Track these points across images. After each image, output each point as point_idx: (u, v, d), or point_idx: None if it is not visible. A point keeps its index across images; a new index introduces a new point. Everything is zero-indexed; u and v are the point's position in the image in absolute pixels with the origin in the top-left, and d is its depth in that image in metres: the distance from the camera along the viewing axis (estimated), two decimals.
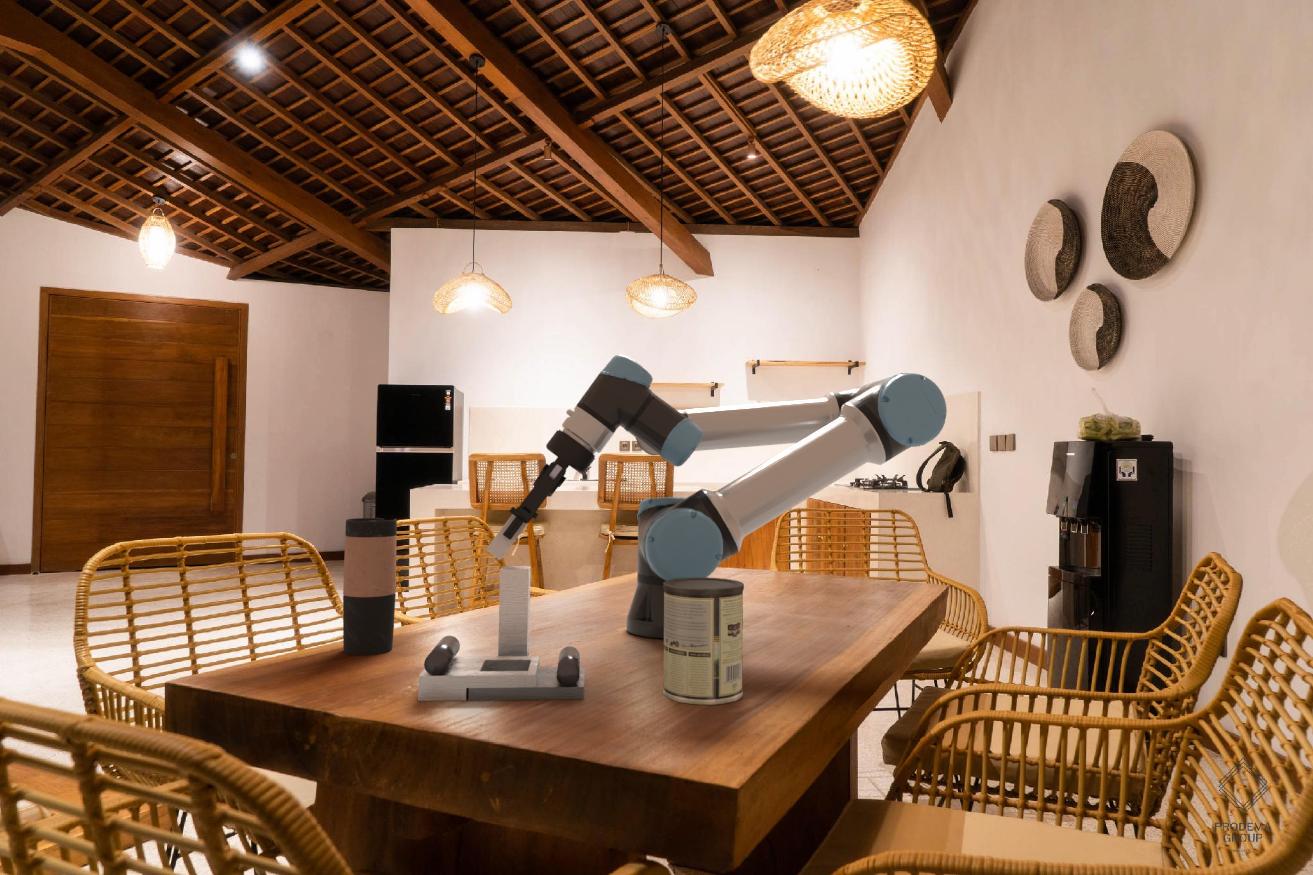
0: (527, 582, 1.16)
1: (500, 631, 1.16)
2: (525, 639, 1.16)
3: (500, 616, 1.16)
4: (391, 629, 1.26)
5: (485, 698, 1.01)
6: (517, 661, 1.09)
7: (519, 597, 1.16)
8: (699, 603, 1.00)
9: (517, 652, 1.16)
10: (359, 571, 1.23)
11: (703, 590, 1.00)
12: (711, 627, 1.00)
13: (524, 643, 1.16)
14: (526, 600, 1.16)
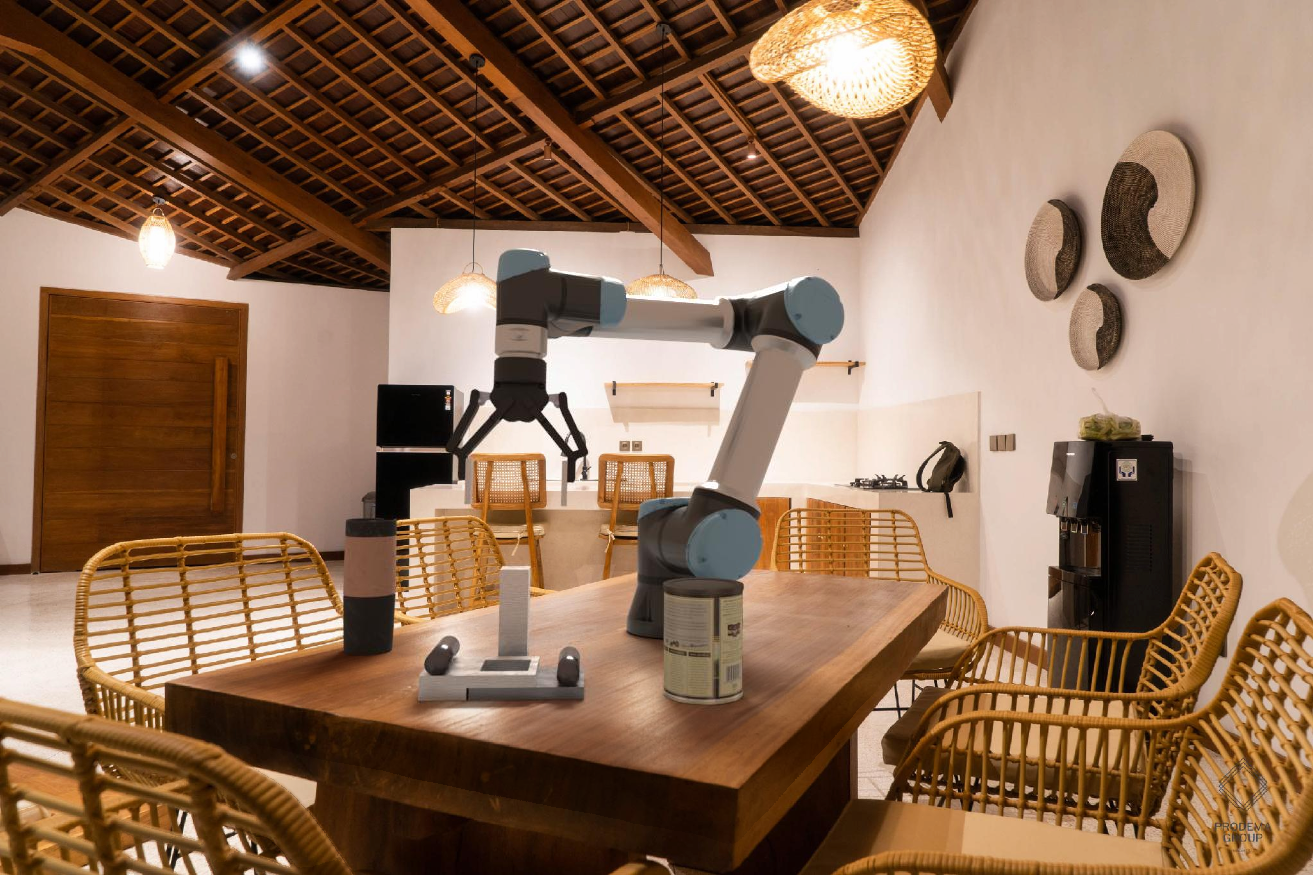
0: (527, 582, 1.16)
1: (500, 631, 1.16)
2: (525, 639, 1.16)
3: (500, 616, 1.16)
4: (391, 629, 1.26)
5: (485, 698, 1.01)
6: (517, 661, 1.09)
7: (519, 597, 1.16)
8: (699, 603, 1.00)
9: (517, 652, 1.16)
10: (359, 571, 1.23)
11: (703, 590, 1.00)
12: (711, 627, 1.00)
13: (524, 643, 1.16)
14: (526, 600, 1.16)
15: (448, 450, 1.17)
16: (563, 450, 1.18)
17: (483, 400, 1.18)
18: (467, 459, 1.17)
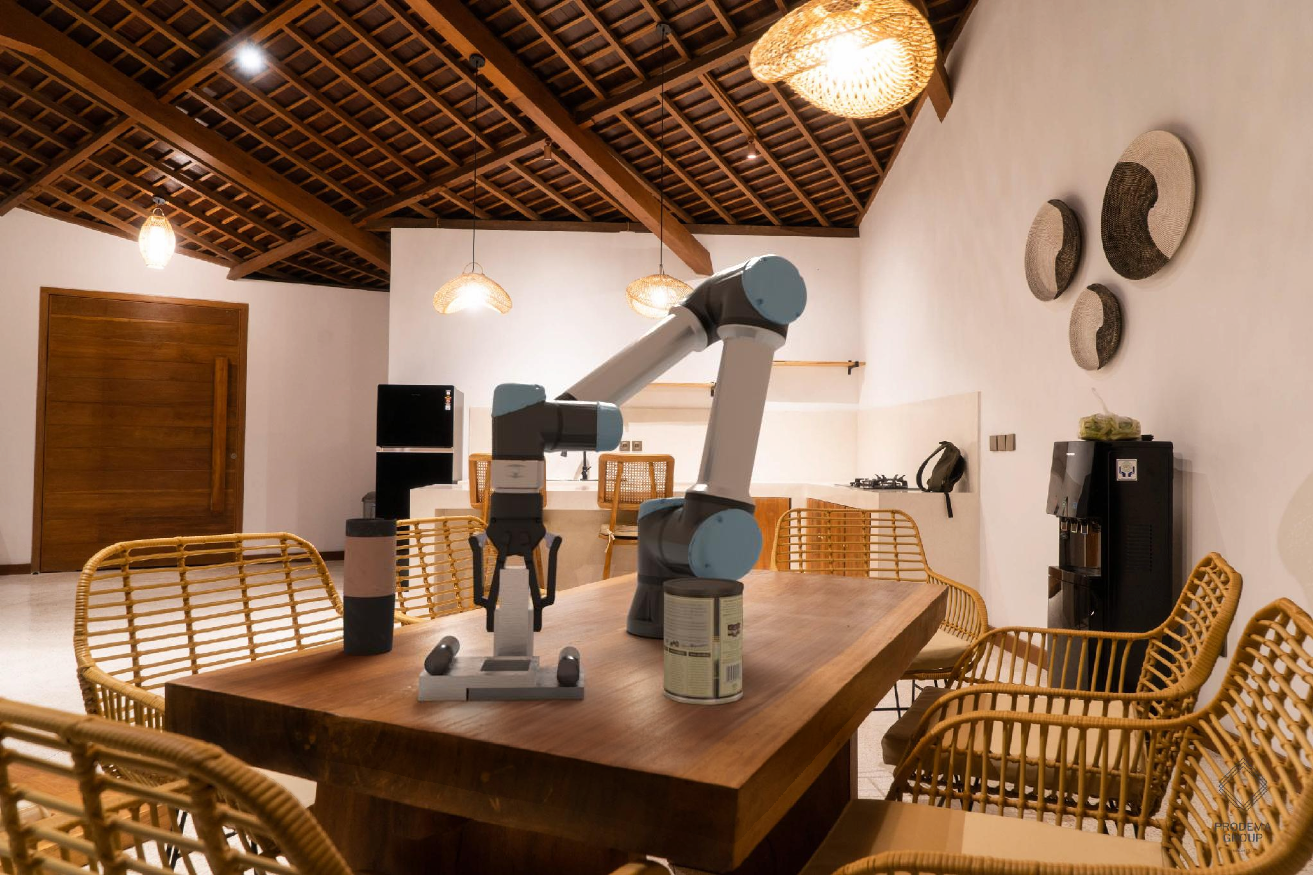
0: (527, 582, 1.16)
1: (500, 631, 1.16)
2: (525, 639, 1.16)
3: (500, 616, 1.16)
4: (391, 629, 1.26)
5: (485, 698, 1.01)
6: (517, 661, 1.09)
7: (519, 597, 1.16)
8: (699, 603, 1.00)
9: (517, 652, 1.16)
10: (359, 571, 1.23)
11: (703, 590, 1.00)
12: (711, 627, 1.00)
13: (524, 643, 1.16)
14: (526, 600, 1.16)
15: (477, 603, 1.16)
16: (533, 596, 1.17)
17: (483, 541, 1.17)
18: (495, 611, 1.16)
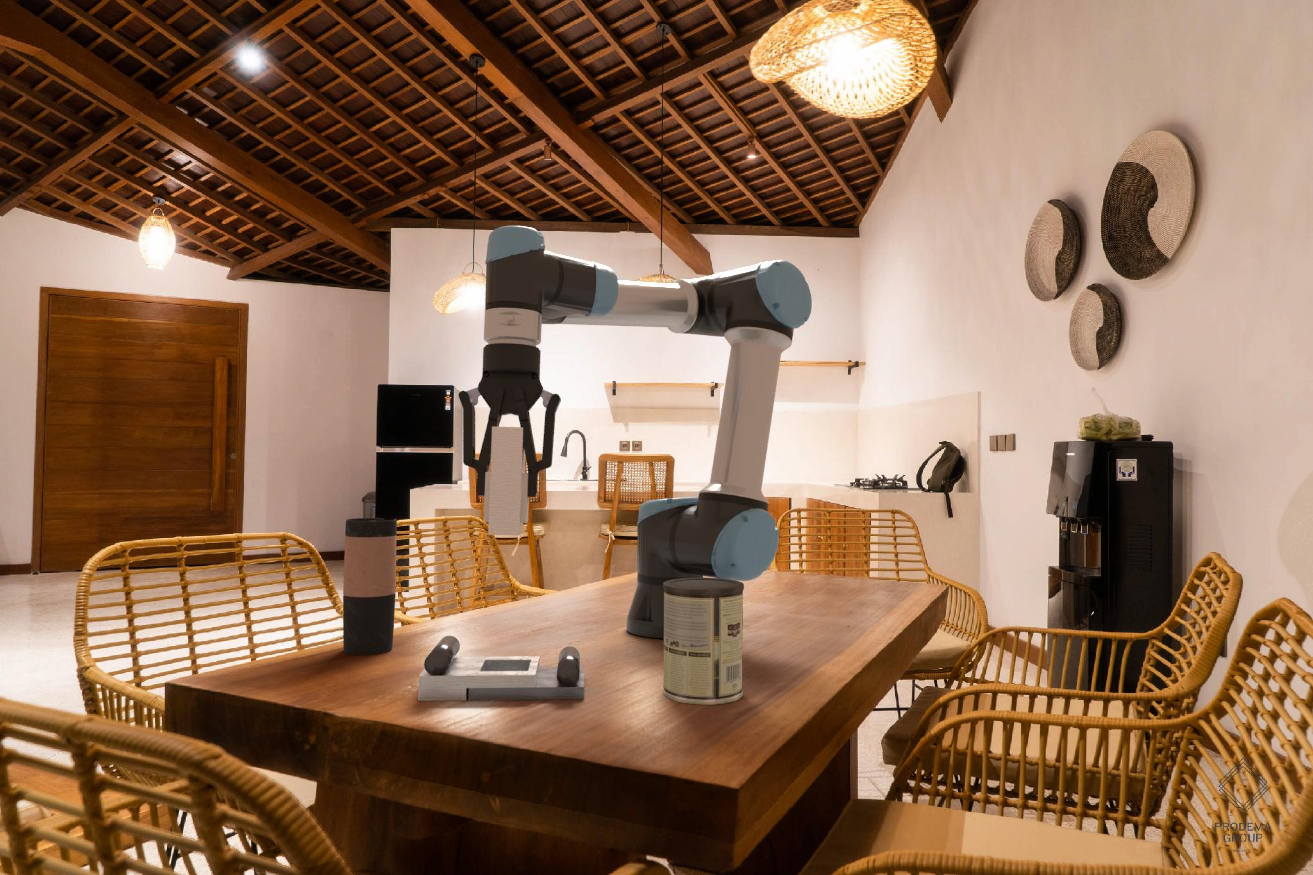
0: (521, 441, 1.07)
1: (491, 493, 1.07)
2: (518, 502, 1.07)
3: (491, 476, 1.07)
4: (391, 629, 1.26)
5: (485, 698, 1.01)
6: (517, 661, 1.09)
7: (512, 457, 1.07)
8: (699, 603, 1.00)
9: (509, 516, 1.07)
10: (359, 571, 1.23)
11: (703, 590, 1.00)
12: (711, 627, 1.00)
13: (517, 507, 1.07)
14: (520, 460, 1.07)
15: (467, 463, 1.07)
16: (527, 458, 1.08)
17: (475, 398, 1.09)
18: (487, 473, 1.07)
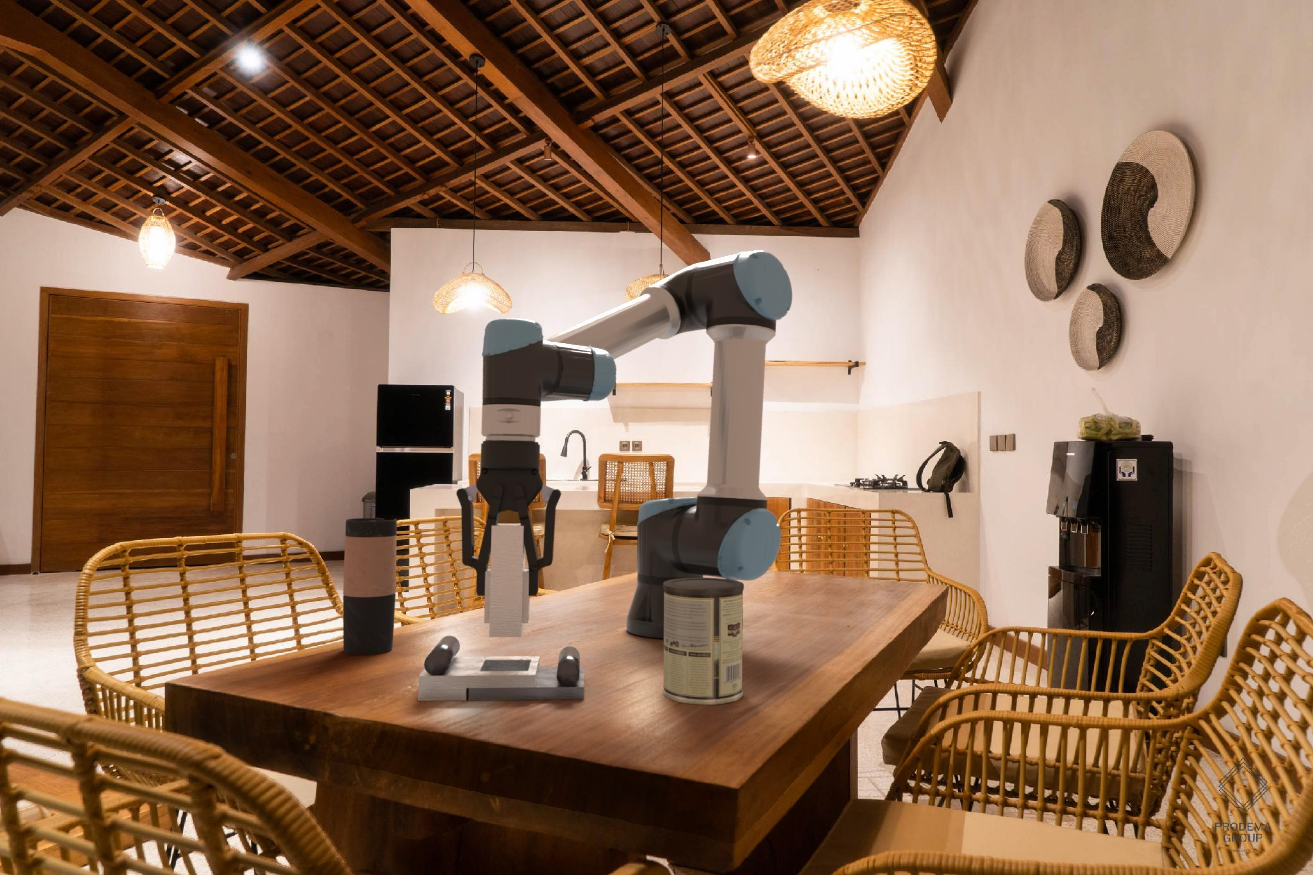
0: (522, 540, 1.05)
1: (492, 594, 1.04)
2: (519, 603, 1.04)
3: (491, 577, 1.04)
4: (391, 629, 1.26)
5: (485, 698, 1.01)
6: (517, 661, 1.09)
7: (513, 556, 1.04)
8: (699, 603, 1.00)
9: (510, 618, 1.04)
10: (359, 571, 1.23)
11: (703, 590, 1.00)
12: (711, 627, 1.00)
13: (518, 608, 1.04)
14: (521, 560, 1.04)
15: (467, 563, 1.05)
16: (528, 556, 1.05)
17: (473, 495, 1.06)
18: (487, 573, 1.05)
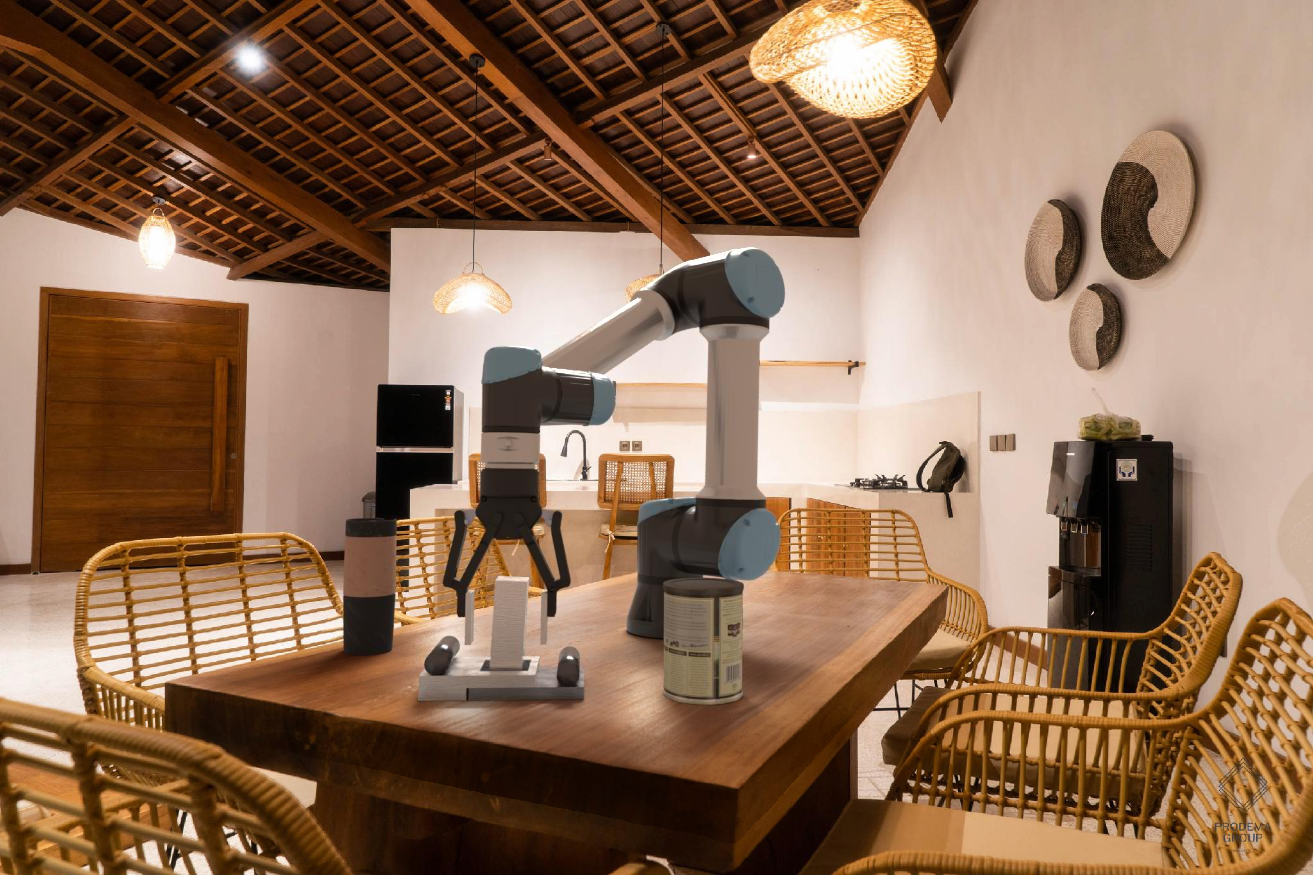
0: (525, 595, 1.04)
1: (492, 649, 1.04)
2: (520, 659, 1.04)
3: (493, 632, 1.04)
4: (391, 629, 1.26)
5: (485, 698, 1.01)
6: None
7: (515, 612, 1.04)
8: (699, 603, 1.00)
9: None
10: (359, 571, 1.23)
11: (703, 590, 1.00)
12: (711, 627, 1.00)
13: (518, 664, 1.04)
14: (523, 615, 1.04)
15: (446, 584, 1.04)
16: (544, 579, 1.05)
17: (470, 519, 1.06)
18: (467, 594, 1.04)
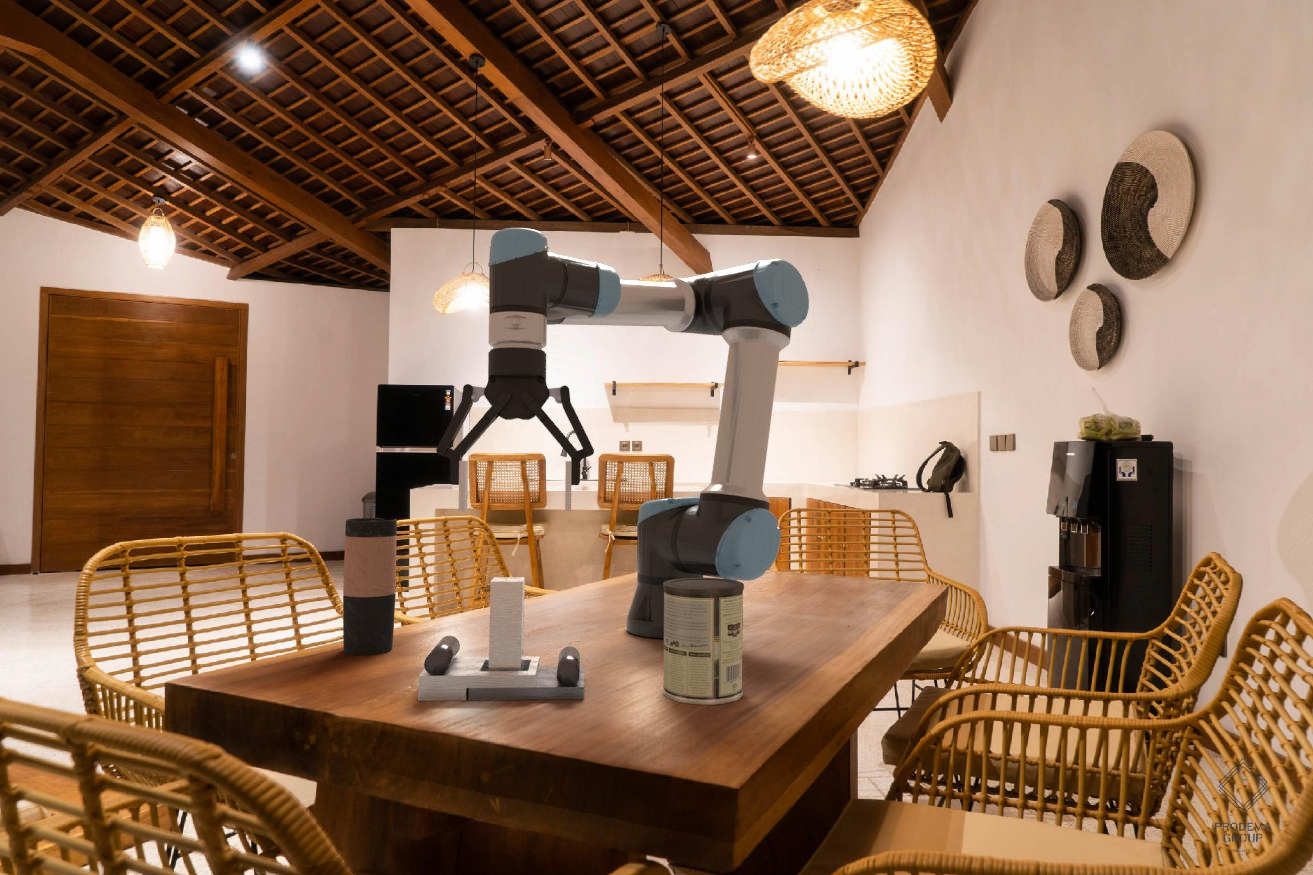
0: (521, 595, 1.04)
1: (491, 650, 1.04)
2: (518, 659, 1.04)
3: (490, 633, 1.04)
4: (391, 629, 1.26)
5: (485, 698, 1.01)
6: None
7: (511, 612, 1.04)
8: (699, 603, 1.00)
9: None
10: (359, 571, 1.23)
11: (703, 590, 1.00)
12: (711, 627, 1.00)
13: (517, 664, 1.04)
14: (520, 616, 1.04)
15: (439, 452, 1.06)
16: (566, 450, 1.07)
17: (477, 396, 1.07)
18: (461, 461, 1.06)
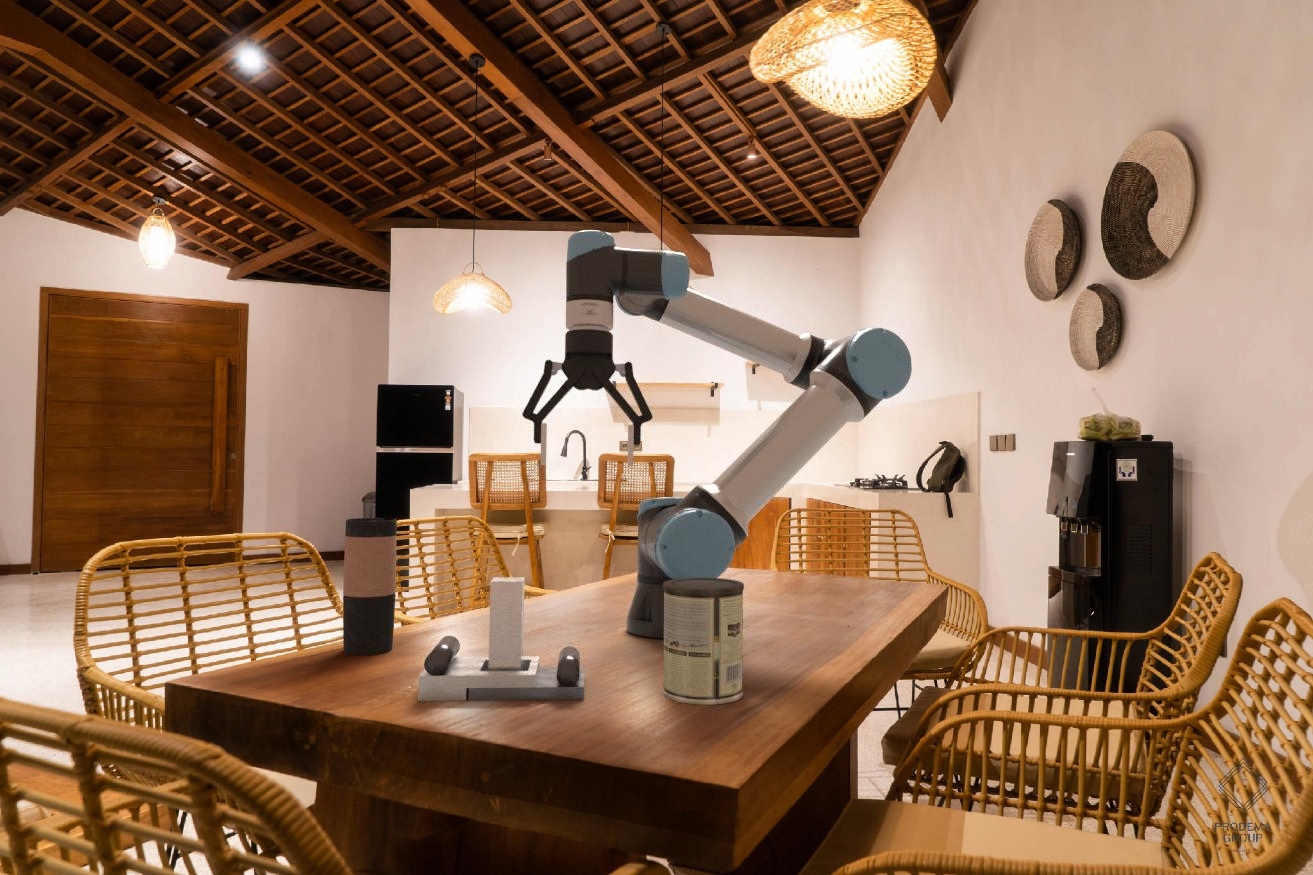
0: (521, 595, 1.04)
1: (490, 650, 1.04)
2: (518, 659, 1.04)
3: (490, 633, 1.04)
4: (391, 629, 1.26)
5: (485, 698, 1.01)
6: None
7: (511, 612, 1.04)
8: (699, 603, 1.00)
9: None
10: (359, 571, 1.23)
11: (703, 590, 1.00)
12: (711, 627, 1.00)
13: (517, 664, 1.04)
14: (519, 615, 1.04)
15: (525, 416, 1.28)
16: (629, 415, 1.29)
17: (556, 370, 1.29)
18: (542, 424, 1.28)
